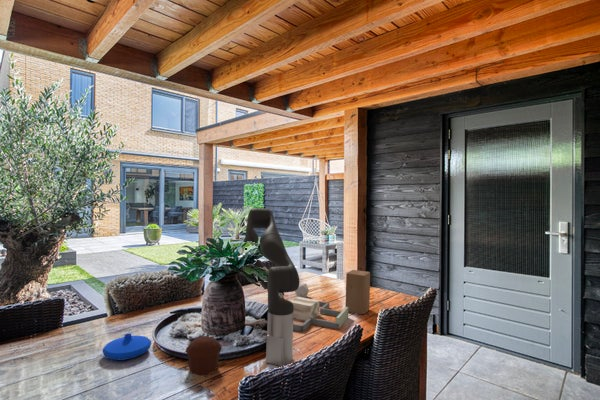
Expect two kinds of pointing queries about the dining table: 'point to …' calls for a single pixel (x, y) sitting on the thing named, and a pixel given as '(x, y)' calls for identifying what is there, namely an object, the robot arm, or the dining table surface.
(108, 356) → the blue knobbed lid
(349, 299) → the wooden block
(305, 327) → the box
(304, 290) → the die
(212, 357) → the muffin
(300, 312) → the ash block
